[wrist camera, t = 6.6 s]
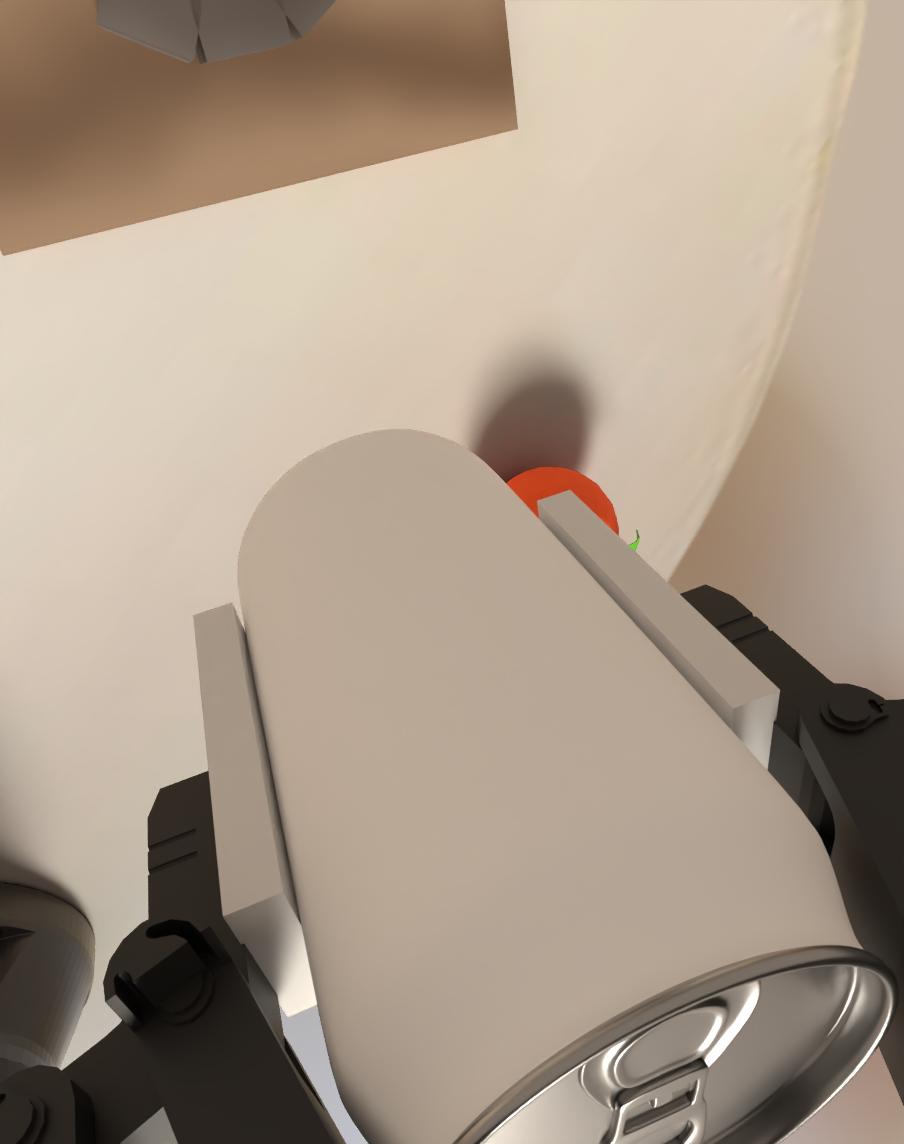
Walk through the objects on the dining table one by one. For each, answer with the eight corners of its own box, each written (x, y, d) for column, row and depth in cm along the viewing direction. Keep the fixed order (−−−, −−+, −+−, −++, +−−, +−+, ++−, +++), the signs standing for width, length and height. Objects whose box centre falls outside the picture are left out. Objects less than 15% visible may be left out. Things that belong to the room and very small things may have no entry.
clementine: (602, 434, 41) (677, 490, 35) (590, 544, 45) (655, 611, 39) (463, 454, 39) (518, 518, 33) (462, 568, 42) (512, 643, 37)
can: (508, 396, 16) (1025, 836, 7) (512, 630, 20) (853, 1133, 10) (200, 454, 15) (311, 1133, 5) (266, 697, 18) (401, 1358, 9)
